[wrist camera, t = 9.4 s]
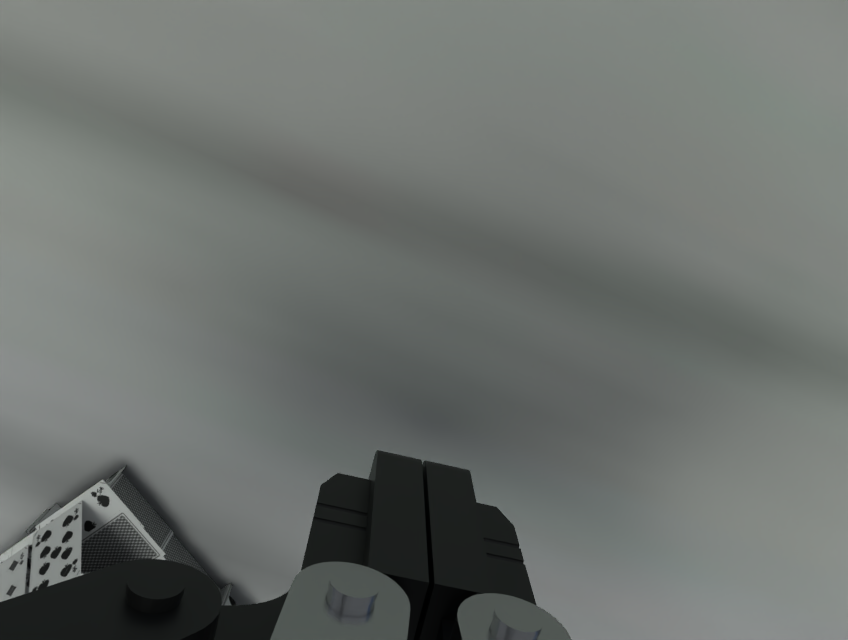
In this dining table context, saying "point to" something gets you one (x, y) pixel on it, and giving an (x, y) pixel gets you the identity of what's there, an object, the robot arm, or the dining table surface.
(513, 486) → the dining table surface
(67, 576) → the house of cards
